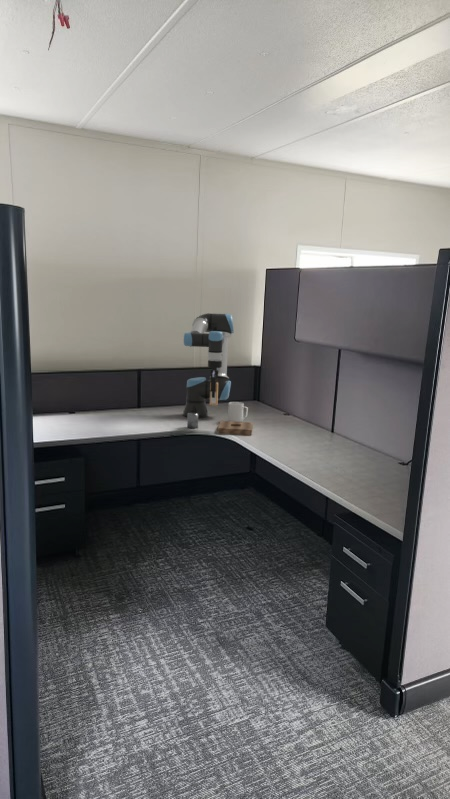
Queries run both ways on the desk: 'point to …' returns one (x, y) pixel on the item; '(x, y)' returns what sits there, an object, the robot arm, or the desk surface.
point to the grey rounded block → (192, 420)
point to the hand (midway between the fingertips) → (213, 402)
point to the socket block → (235, 428)
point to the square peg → (216, 395)
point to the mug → (236, 411)
